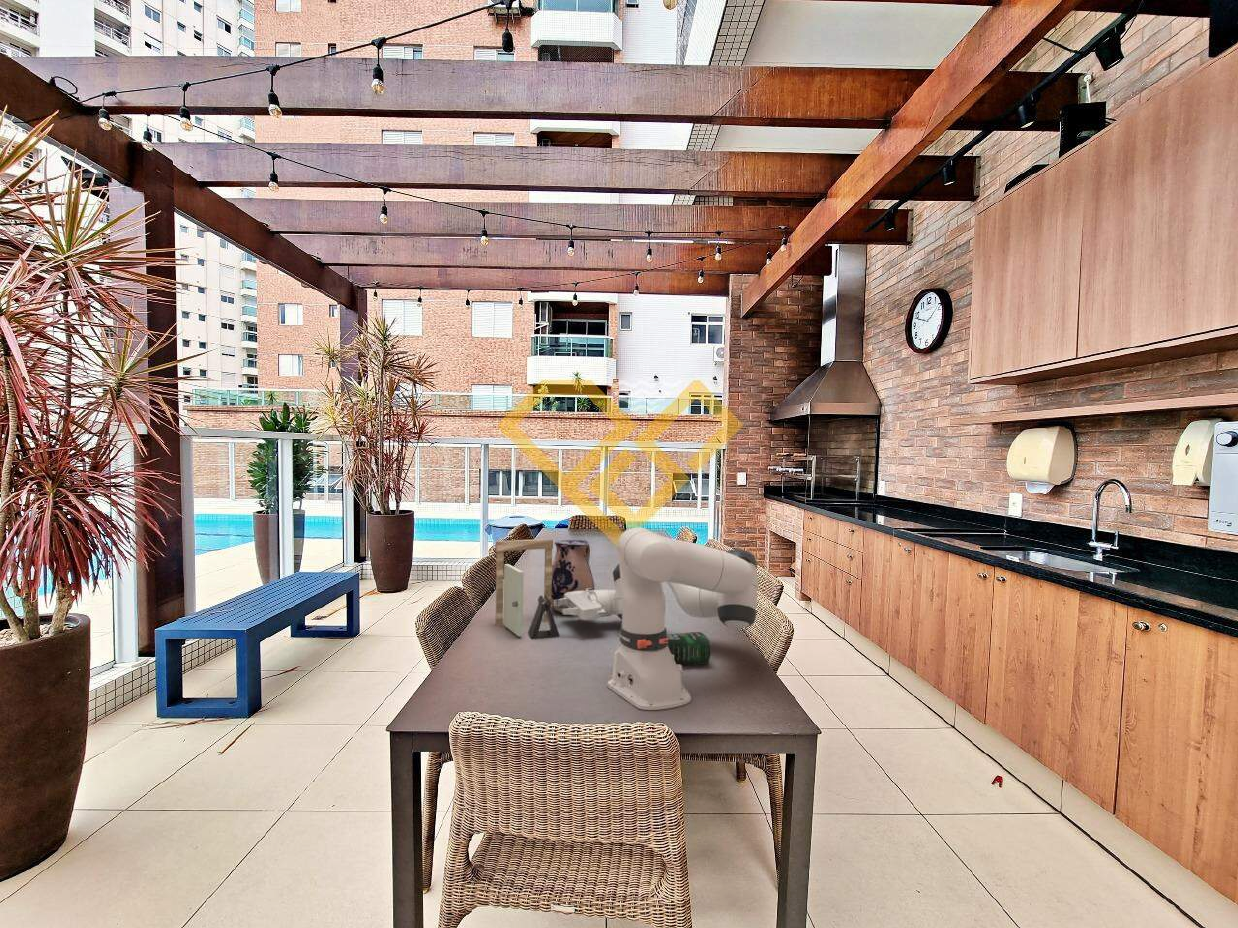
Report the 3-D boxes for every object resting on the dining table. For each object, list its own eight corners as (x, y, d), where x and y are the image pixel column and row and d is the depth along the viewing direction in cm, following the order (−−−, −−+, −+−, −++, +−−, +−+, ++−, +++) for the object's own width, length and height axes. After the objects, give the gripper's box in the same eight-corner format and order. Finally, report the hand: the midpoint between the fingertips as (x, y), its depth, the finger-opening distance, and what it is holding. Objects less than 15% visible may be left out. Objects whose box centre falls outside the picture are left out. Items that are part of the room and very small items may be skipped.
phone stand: (555, 630, 182) (556, 594, 182) (559, 636, 176) (560, 599, 176) (528, 632, 179) (528, 595, 179) (531, 639, 173) (531, 600, 173)
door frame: (551, 620, 192) (553, 539, 191) (495, 626, 185) (497, 542, 184) (549, 618, 194) (551, 538, 193) (494, 624, 187) (495, 540, 186)
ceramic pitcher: (538, 614, 199) (539, 544, 198) (561, 599, 219) (562, 535, 218) (584, 620, 194) (585, 548, 193) (603, 604, 214) (605, 538, 213)
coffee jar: (712, 638, 154) (647, 643, 150) (711, 667, 154) (647, 672, 150) (699, 627, 163) (637, 631, 159) (698, 654, 164) (637, 659, 159)
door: (514, 637, 173) (515, 572, 172) (499, 624, 184) (500, 564, 183) (522, 635, 174) (523, 571, 173) (507, 623, 185) (508, 563, 185)
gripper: (609, 622, 176) (567, 626, 171) (588, 604, 195) (549, 608, 190) (610, 602, 176) (567, 606, 171) (588, 586, 195) (550, 589, 190)
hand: (558, 607), depth 181 cm, fingers open, 8 cm apart
